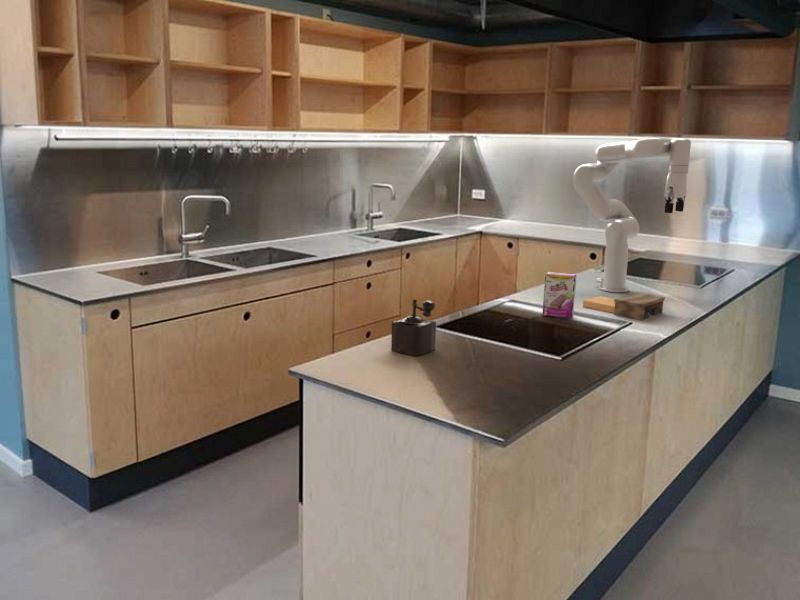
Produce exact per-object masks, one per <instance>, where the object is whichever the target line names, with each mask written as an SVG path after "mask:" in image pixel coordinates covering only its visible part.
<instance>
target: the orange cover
mask: <svg viewBox="0 0 800 600" xmlns="http://www.w3.org/2000/svg"><path fill="white" fill-rule="evenodd" d="M614 299H615V298H611V297H605V296H601V295H599V296H598V295H597V296H595V297H590V298H587V299H584V300H583V301H582V307H583V306H584V307H583V308H587V307H588V308H587V309H591V310H592V309H593V310H597V311H602V312H608V313H612V314H614V311H615V302H614Z"/></svg>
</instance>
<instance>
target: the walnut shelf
mask: <svg viewBox="0 0 800 600" xmlns="http://www.w3.org/2000/svg"><path fill="white" fill-rule="evenodd" d="M613 299H614V302H615V311H614V313H613V314H614V315H615V316H619V317H623V318H630V319H634V320H637V321H638V320H639V321H644V320H645V319H648V318H649V313H650V312H651V315H652V316H656V315H658V314H660V315H661V314H663V308H664V301H665V299H666V297H664V296H659V295H653V294H649V293H648V294H647V293H641V292H635V293H634V292H633V293H630V294H628V295H627V294H626V295H624V296H621V297H618V298H613Z"/></svg>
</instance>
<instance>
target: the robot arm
mask: <svg viewBox="0 0 800 600" xmlns="http://www.w3.org/2000/svg"><path fill="white" fill-rule="evenodd" d="M691 147H692V142H691V139H688V138H669V137H650V138H643V139H637V140H635V139H634V140H633V139H632V140H624V141H615V142H608V143H603V144H599V146H597V148H596V149H595V151H594V152H595V153H594V154H595V158H596V160H597V162H593V163H592V162H590V163H583V164H581V165H579V166H577V168H576V169H575V170H574V172H573V175H572V176H573V177H572V182H573V186H574V188H575V192H577V194H578V195H579V197H581V199H582V200H583V201H584V203H585V204H586V205H587V207H588V209H590V210H591V212H592V213H593V215H594V216H595V217H596V218H597V220H599V221H600V222H608V223H607V224H606V227H605V229H604V230H605V233H604V235H605V258H604V268H603V269H604V271H603V278H600V277H597V278H596V279H595V283H597V284H600V285H598V286H599V288H598V289H599V290H600V291H603V292H607V293H627V292H629V290H630V289H629V287H628V286H626V281H627V271H628V259H629V244H628V240H630V239H633V238H635V237H636V236H638V234H639V232H640V224H639V222H638V220H637V219H636V217H635V216H634V215H633V213H632V212H631V210H629V208H628V207H627V206H626V204H625V203H624V202H623V201H621V200H619V199H614V198H608V197H607V196H606V195H605V193H604V192H603V191H602V189H600V188H599V186H597V184H595V183H600V182H602V181H604V180H605V179H607V178H608V177H609V175H610V174H611V173H612V172H613V171H614V170H615V169H616V168H617V166H618V165H619V164H620V163H621V162H632V161H634V160H636V159H644V158H656V157H657V158H659V157H669V160H668V173H667V177H666V181H665V182H666V183H665V188H664V194H663V195H664V200H665V201H664V202H665V205H664V213H665V214H673V212H674V211H675V212H680V213H682V212H684V208H685V199H686V194H687V175H688V174H689V165H690V156H691ZM675 199H676V201H675ZM674 201H675V204H674V203H673V202H674ZM674 205H675V209H674Z"/></svg>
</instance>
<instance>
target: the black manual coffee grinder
mask: <svg viewBox="0 0 800 600" xmlns="http://www.w3.org/2000/svg"><path fill="white" fill-rule="evenodd" d="M417 302H418V300H417V299H416V298H414V299H412V303H411V306H412V314H411V315H407V316H405V317H403V318H400V319H398V320H393V321H391V349H390V351H391V350H392V351H393V352H396V353H398V354H402V355H403V354H404V355H408V356H414V357H419V356H423V355H426V354H428V353H431V352H433V351H436V334H437V322H436V321H435V320H431V319H425V318H428V317H432V312H433V311H434V309H436V305H435V303H434V302H433V301H432V300H428V299H427V300H425V301H423V303H422V306H419V305H418V303H417ZM417 310H419V311H421V312H422V315H423V316H424V317H425V318H423V317H422V316H419V315H417Z"/></svg>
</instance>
